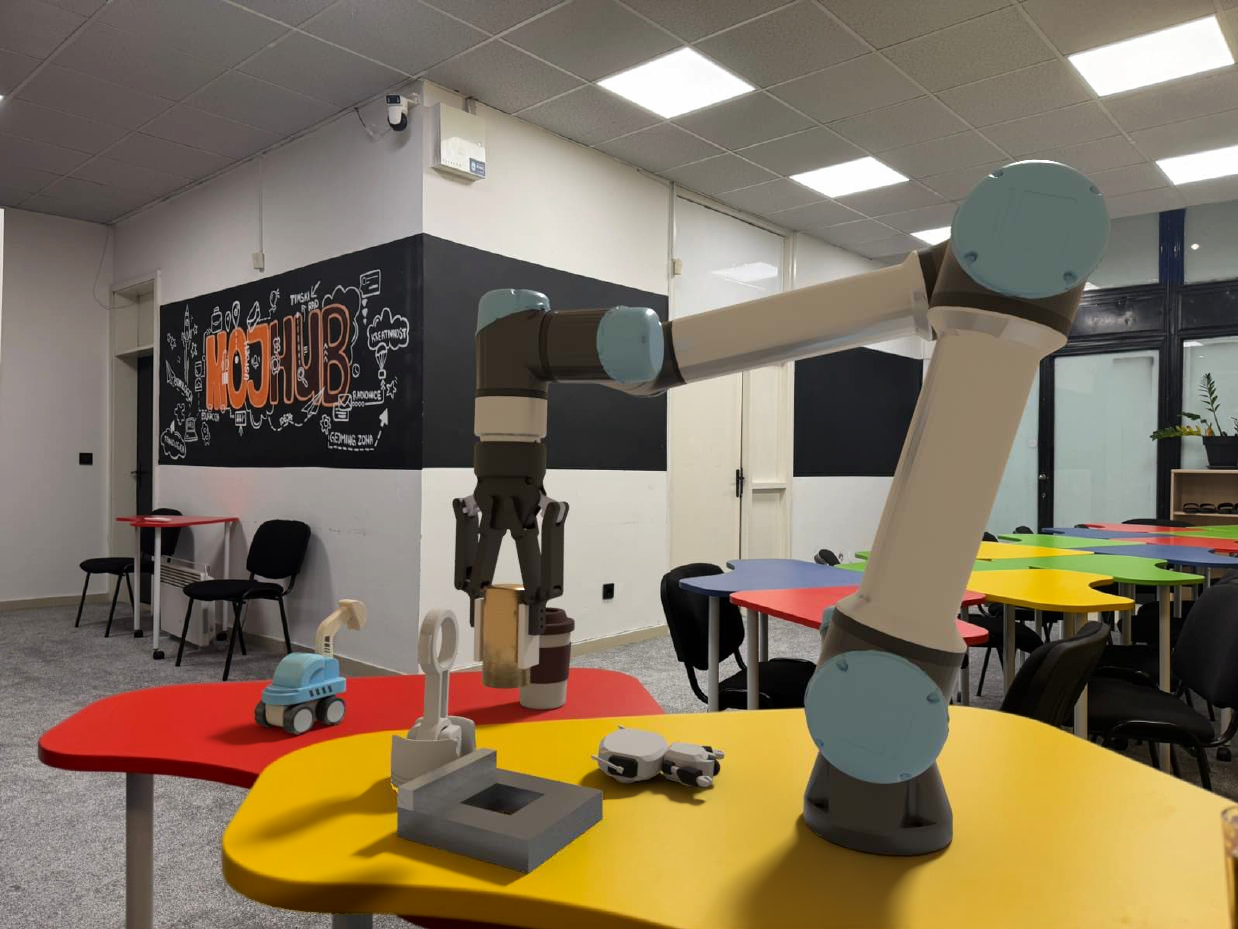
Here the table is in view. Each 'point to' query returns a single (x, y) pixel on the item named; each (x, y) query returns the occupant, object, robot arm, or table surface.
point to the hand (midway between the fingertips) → (506, 662)
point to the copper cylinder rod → (502, 637)
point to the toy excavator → (310, 679)
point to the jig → (466, 822)
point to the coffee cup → (550, 664)
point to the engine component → (433, 707)
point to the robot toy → (656, 758)
